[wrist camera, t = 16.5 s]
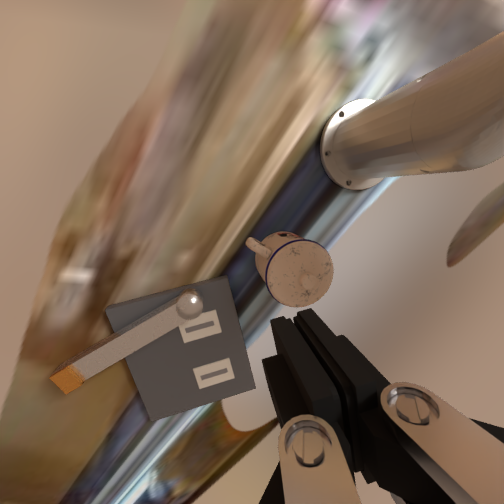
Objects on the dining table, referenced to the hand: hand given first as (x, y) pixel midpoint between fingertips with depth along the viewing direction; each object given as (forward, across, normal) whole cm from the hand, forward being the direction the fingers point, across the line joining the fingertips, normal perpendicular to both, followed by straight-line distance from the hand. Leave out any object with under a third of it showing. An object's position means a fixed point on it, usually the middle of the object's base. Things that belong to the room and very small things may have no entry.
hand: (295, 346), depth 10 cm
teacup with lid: (+29, -6, +5) cm, 30 cm away
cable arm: (+27, +17, +11) cm, 33 cm away
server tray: (+29, +11, +17) cm, 35 cm away
